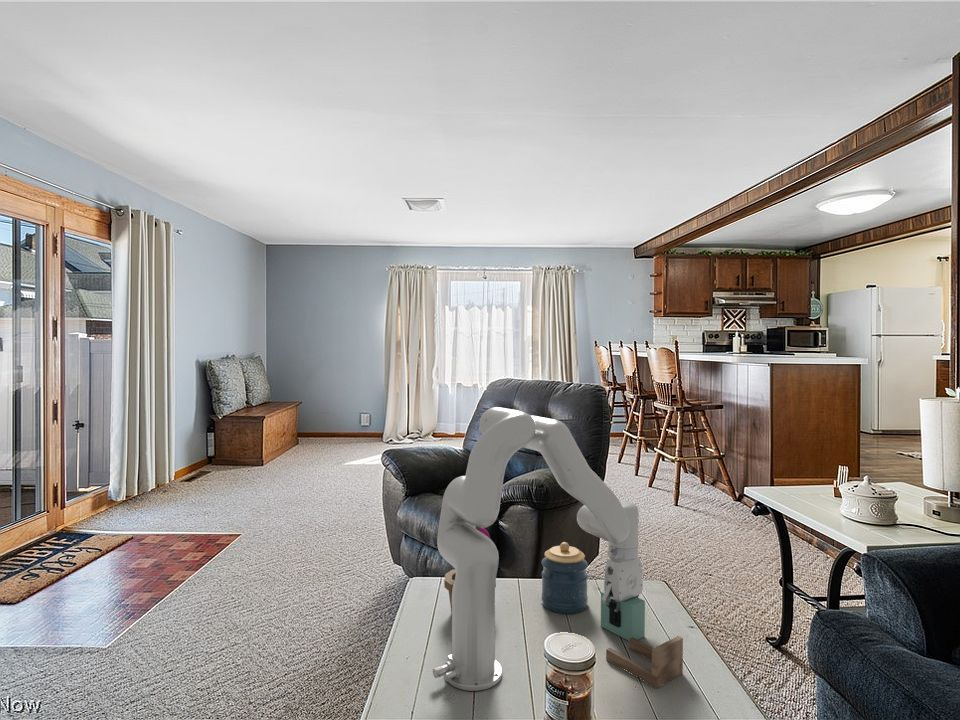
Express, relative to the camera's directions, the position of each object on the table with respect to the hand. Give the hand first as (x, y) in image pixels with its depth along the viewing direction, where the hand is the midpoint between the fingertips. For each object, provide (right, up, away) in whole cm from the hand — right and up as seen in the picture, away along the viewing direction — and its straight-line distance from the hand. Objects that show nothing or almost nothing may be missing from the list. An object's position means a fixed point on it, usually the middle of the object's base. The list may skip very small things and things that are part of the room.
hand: (622, 621), depth 143 cm
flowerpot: (-39, -3, +10) cm, 40 cm away
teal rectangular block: (0, -3, 0) cm, 3 cm away
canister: (-12, -3, +16) cm, 20 cm away
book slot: (+1, -3, -16) cm, 16 cm away
